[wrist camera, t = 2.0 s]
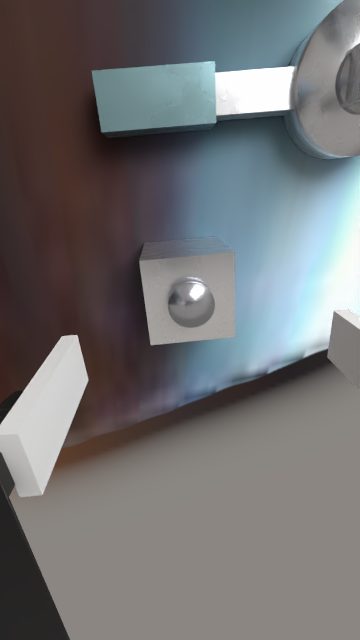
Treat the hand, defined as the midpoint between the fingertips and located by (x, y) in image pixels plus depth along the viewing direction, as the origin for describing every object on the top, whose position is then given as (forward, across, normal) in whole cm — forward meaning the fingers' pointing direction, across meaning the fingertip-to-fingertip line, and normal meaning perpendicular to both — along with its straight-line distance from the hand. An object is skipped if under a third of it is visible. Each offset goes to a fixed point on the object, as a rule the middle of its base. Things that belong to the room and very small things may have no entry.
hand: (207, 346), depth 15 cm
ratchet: (+14, +6, +13) cm, 20 cm away
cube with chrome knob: (+14, 0, 0) cm, 14 cm away
